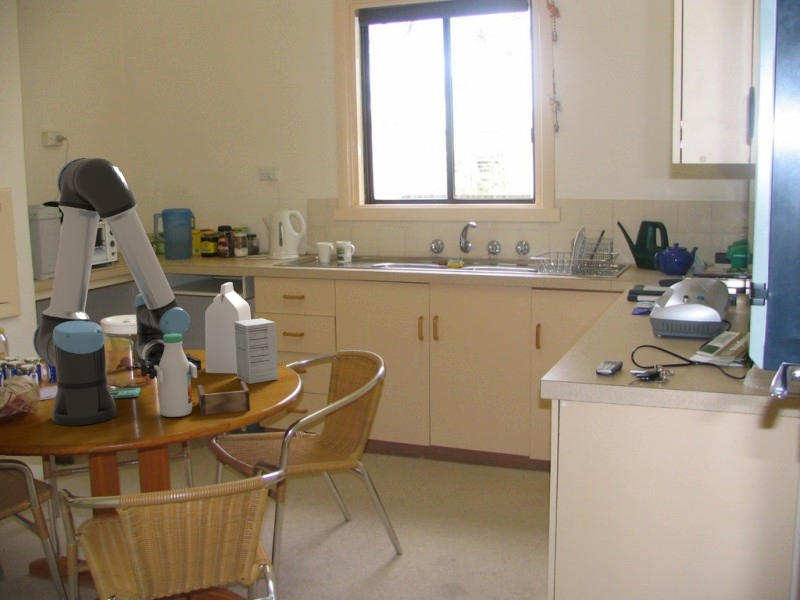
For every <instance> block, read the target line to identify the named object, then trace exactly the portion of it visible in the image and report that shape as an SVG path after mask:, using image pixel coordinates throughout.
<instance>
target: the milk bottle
mask: <svg viewBox="0 0 800 600" xmlns="http://www.w3.org/2000/svg"><path fill="white" fill-rule="evenodd" d="M163 342H164V343H163V344H164V346H165V347H164V352H163V355H162V358H161V360H160V363H159V368H160V369H161V370H162V371H163V382H159V381H158V394H159V409H160V410H159V412H160V414H161V415H162V416H163V417H166V418H167V417H168V418H176V417H184V416H188V415H189V414H191V413H192V411H193V398H192V384H191V383H192V382H191V381H192V380H191V378H192V376H191V375H190V366H189V362H188V360H187V358H186V356H185V355H186V353H185V352H184V349H183V346H182V345H183V334H182V335H181V334H176V333H173V334H166V335H164V336H163Z"/></svg>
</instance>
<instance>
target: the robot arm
mask: <svg viewBox="0 0 800 600" xmlns="http://www.w3.org/2000/svg"><path fill="white" fill-rule="evenodd" d="M56 182H57V184H56V185H57V188H58V189H57V190H58V191H59V194H60V196H59V202H58V208H59V209H60V210H61V212H62V213H63V217H62V224H61V231H60V237H59V245H58V249H57V250H58V251H57V257H56V264H55V269H54V276H53V277H54V278H53V283H52V290H51V294H50V296H51V298H50V303H49V306H48V307H47V308H46V309H44V310H43V311H42V314H41V320H40V324H39V325H38V326H37V327H36V329H35V331H34V333H33V335H32V336H33V337H32V346H33V349H34V351H35V353H36V355H38V357H39V358H40V359H41V360H42V361H43V362H44V363H45V364H48V365H50V366H52V367H55V372H56V373H55V374H56V384H57V385H56V386H57V388H56V389H57V392H56V394H55V397H54V398H55V399H54V403H53V407H52V410H51V418H52V422H53V423H55V424H57V425H61V426H83V425H84V426H86V425H93V424H98V423H102V422H105V421H108V420H111V419H113V418H114V417H116V416H117V404H116V402H115V400H114V397H113V395H112V393H111V390H110V388H109V386H108V380H107V364H106V348H105V342H106V341H105V340H106V339H105V336H104V330H103V328H102V326H101V325H100V324H98V323H96V322H93V321H90V317H89V315H88V313H86V305H87V299H88V293H89V291H88V290H89V286H90V279H91V272H92V265H93V261H94V254H95V247H96V242H97V234H98V229H99V228H98V226H99V222H100V220H101V221H105V222H106V224H107V225H108V228H109V230H110V232H111V234H112V236H113V239H114V240H115V242H116V245H117V246H118V248H119V251H120V252H121V254H122V255H121V256H122V257H123V259H124V261H125V263H126V266H127V268H128V269H129V272H130V275H131V276H132V278H133V280H134V282H135V284H136V287H137V289H138V291H139V293H138V294H137V295H136V296H135V303H134V304H135V307H134V309H135V317H136V318H135V319H136V320H135V321H136V331H137V342H136V352H137V354H138V356H139V357H140V358H139V359H137V361H138V368H137V369H138V370H140V375H141V377H146V376H147V375H149V379H150V380H153V379H155V378H156V380H158V383H159V382H163V371H162V370H161V369H160V368H159V363H160V360H161V358H162V355H163V352H164V347H165V346H164V344H163V343H164V342H163V336H164V335H166V334H173V333H176V334H181V335H182V336H183V334H185V333H186V332H187V331H188V329H189V328H190V326H191V317H190V315H189V313H188V312H187V311H186V310H185V309H183V308H182V307H180V305H179V303H178V300H177V299H176V296H175V294H174V293H173V290H172V287H171V286H170V283H169V281H168V279H167V277H166V274H165V272H164V270H163V267H162V266H161V263H160V262H159V259H158V257H157V255H156V253H155V250H154V248H153V246H152V244H151V242H150V238H149V237H148V235H147V233H146V231H145V228H144V226H143V224H142V222H141V219H140V217H139V215H138V213H137V208H138V207H137V206H138V202H137V200H136V199H135V195H134V194H133V191H132V190H131V189H132V188H131V187H130V185H129V183H128V181H127V180H126V177H125V176H124V174H123V173H122V171H121V170H120V168H119V167H118V166H117V165H116V164H115V163H113V162H112V161H110V160H108V159H105V158H101V157H95V158H92V157H91V158H89V157H88V158H87V157H81V158H75V159H73V160H71V161H69V162H67V163H65V165H63V166H62V168H61V169H60V171H59V172H58V175H57V181H56ZM185 356H186V358H187V360H188V362H189V366H190V376H191V378H193V379H197V378H198V372H199V371H201V370H202V360H201V359H200V358H198V357H195V356H193V355H191V353H185ZM147 365H148V366H149V367H146V366H147Z"/></svg>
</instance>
